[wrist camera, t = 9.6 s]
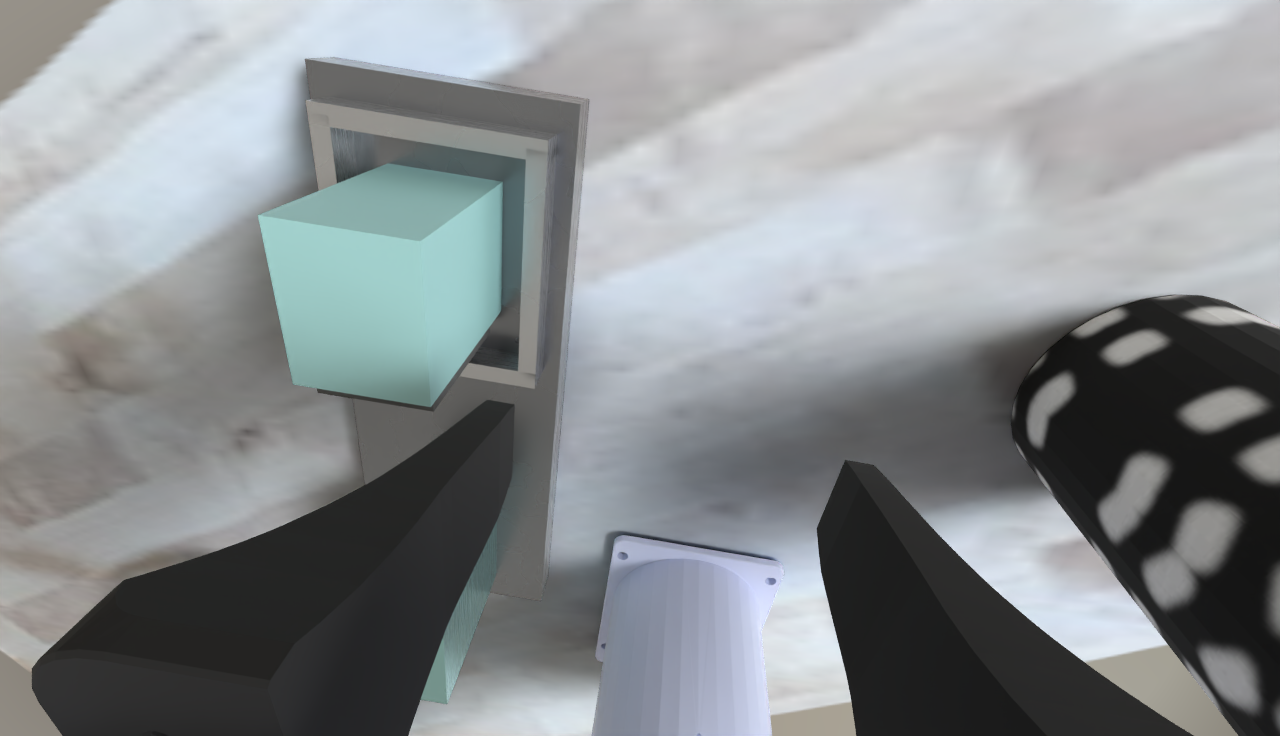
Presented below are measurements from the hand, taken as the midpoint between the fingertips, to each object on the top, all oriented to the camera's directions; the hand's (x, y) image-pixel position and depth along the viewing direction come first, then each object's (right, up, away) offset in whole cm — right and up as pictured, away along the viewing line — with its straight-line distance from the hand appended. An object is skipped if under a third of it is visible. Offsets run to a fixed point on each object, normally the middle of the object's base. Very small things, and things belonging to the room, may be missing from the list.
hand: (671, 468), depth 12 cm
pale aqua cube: (-7, +6, +6) cm, 11 cm away
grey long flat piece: (-8, +2, +11) cm, 13 cm away
